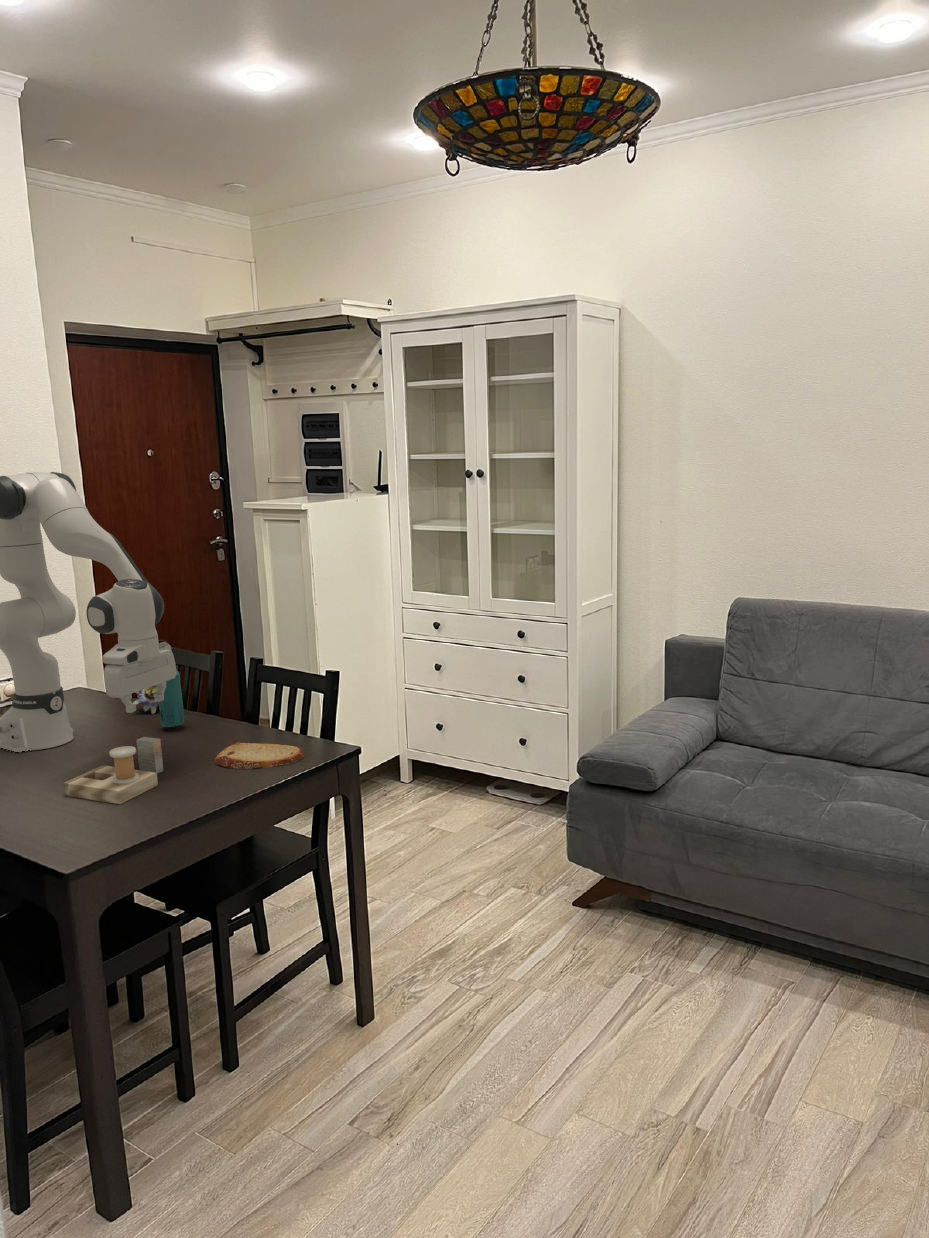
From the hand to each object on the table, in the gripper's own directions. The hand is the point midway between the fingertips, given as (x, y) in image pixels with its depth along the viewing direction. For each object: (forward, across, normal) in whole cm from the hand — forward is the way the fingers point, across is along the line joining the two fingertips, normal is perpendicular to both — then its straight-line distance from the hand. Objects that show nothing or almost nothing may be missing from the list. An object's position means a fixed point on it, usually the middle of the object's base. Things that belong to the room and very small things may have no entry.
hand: (145, 706), depth 223 cm
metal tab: (+16, 0, 0) cm, 16 cm away
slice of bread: (+17, -15, +19) cm, 30 cm away
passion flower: (+16, -43, -36) cm, 59 cm away
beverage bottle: (+16, -29, -18) cm, 38 cm away
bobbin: (+13, +13, +4) cm, 19 cm away
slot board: (+16, +13, 0) cm, 21 cm away
